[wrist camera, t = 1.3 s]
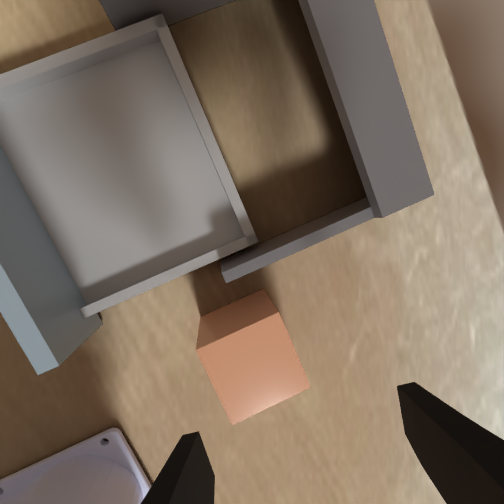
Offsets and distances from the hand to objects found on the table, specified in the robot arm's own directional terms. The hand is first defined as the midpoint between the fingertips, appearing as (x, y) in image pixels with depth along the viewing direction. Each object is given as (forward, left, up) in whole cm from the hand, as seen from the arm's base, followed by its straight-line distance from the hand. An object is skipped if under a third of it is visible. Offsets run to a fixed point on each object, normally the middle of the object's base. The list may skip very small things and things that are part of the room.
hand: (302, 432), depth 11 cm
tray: (-3, +12, -10) cm, 16 cm away
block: (-1, 0, -10) cm, 10 cm away
